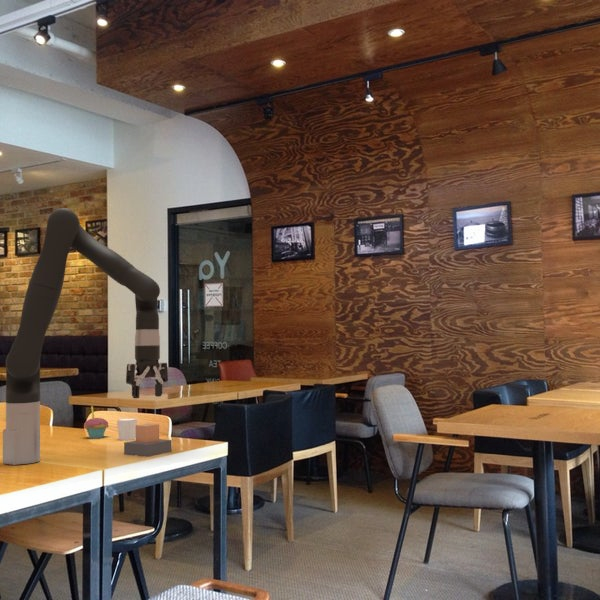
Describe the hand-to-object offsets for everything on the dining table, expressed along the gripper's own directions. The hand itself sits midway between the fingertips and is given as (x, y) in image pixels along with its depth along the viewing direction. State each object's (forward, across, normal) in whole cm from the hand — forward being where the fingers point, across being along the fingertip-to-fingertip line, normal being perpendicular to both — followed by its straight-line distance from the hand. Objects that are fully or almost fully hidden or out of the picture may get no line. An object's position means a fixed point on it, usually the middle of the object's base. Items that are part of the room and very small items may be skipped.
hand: (147, 397), depth 212 cm
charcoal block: (+17, 0, 0) cm, 17 cm away
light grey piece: (+17, +16, +31) cm, 39 cm away
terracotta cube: (+13, 0, 0) cm, 13 cm away
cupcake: (+17, +13, +45) cm, 50 cm away
